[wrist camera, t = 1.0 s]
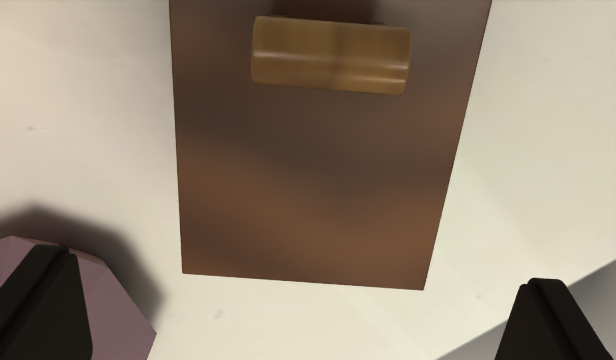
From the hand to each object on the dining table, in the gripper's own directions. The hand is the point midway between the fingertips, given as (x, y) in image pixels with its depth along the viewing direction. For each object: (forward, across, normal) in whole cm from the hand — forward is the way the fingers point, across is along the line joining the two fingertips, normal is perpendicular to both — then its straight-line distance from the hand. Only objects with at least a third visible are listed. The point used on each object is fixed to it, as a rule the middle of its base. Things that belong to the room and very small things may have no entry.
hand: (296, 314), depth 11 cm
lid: (+14, -1, +2) cm, 14 cm away
